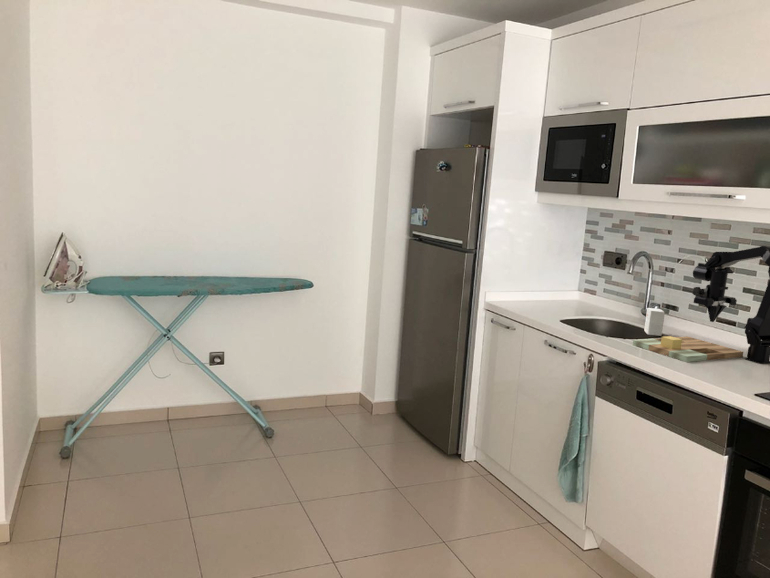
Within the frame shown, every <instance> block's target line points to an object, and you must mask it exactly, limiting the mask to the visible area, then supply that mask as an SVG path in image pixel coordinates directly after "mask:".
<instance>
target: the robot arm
mask: <svg viewBox="0 0 770 578" xmlns="http://www.w3.org/2000/svg"><path fill="white" fill-rule="evenodd" d="M754 259H755V260H756V259H762V261H763V262H764V263H765V265H767V266H768V268H767V269H768V270H767V272H768V278H769V281H768V282H767V285H766V289H765V290H764V294H763V296H762V298H761V301H760V304H759V308H758V310H757V311H756V315H755V316H754V317H748V318H747V320H746V324H745V326H744V327H743V328H744V334H745V335H746V343H747V345H749V346H748V348H747V352H746V353H747V354H746V357H745V358H744V359H745V360H747V361H749V362H754V363H757V364H770V245H760V246H758V247H753V248H747V249H741V250H736V251H714V252H713V253H712V254H711V257H710V258H709V259H708V260H707V261H706V262H705V263H704V262H698V263H697V265H696V266H695V267H694V269H693V271H692V277H693V279H695V280H698V281H699V280H700V281H705V282H709V284H707V285H706V286H705V288H701V287H700V286H695V287H693V289H692V295H693V296H695V297H694V298H693V301H692V302H693V304H697V305H702V306H704V307H706V308H707V313H708V318H709V322H711V323H714V322H715V321H716V320H717V319H718V317H719V315H721V313H722V312H723V311H724V310H725V308H727V305H725V303H726V304H730V305H731V306H737V302H738V301H737V299H736V297H733V296H727V295H725V293H726V290H729V287H728V286H727V280H728V276H729V274H731V275H732V274H734V271H733V270H732V269H731V268H730V266H733V265H736V264H737V263H739V262H743V261H748V260H754Z"/></svg>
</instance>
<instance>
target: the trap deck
mask: <svg viewBox="0 0 770 578" xmlns="http://www.w3.org/2000/svg"><path fill="white" fill-rule="evenodd" d="M674 337H675V336H674ZM675 338H679V339H682V344H681V349H669V348H666V347H663V346H660V345H661V339H662V337H659V338H658V337H657V338H645V339H643V338H642V339H633V340H632V346H635V347H637V348H641V349H644V350H648V351H650V352H654V353H656V354H660V355H662V356H666V355H667V356H666V357H669V356H670V358H672V357H673V359H675V358H676V359H677V360H679V361H682V362H685V363H690V361H692V362H702V361H711V360H712V361H713V360H724V359H733V358H735V359H737V358H743V357H744V351H742V350H739V349H734V348H731V347H728V346H724V345H720V344H717V343H713V342H709V341H705V340H702V339H698V338H694V337H691V336H677V337H675Z"/></svg>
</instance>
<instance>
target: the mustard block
mask: <svg viewBox="0 0 770 578" xmlns="http://www.w3.org/2000/svg"><path fill="white" fill-rule="evenodd" d="M661 338H662V339H661V345H660V346H663V347H666V348H669V349H681V344H682V339H679V338H675V336H671V335H669V336H661Z"/></svg>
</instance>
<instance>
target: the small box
mask: <svg viewBox="0 0 770 578" xmlns="http://www.w3.org/2000/svg"><path fill="white" fill-rule="evenodd" d="M645 314H646V315H645V323H644V332H645V333H646V334H647V335H648V336H657V337H659V336H660V337H663V336H662V335H663V327H664V321H665V311H664V310H662V309H661V308H654V307H646V313H645Z"/></svg>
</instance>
